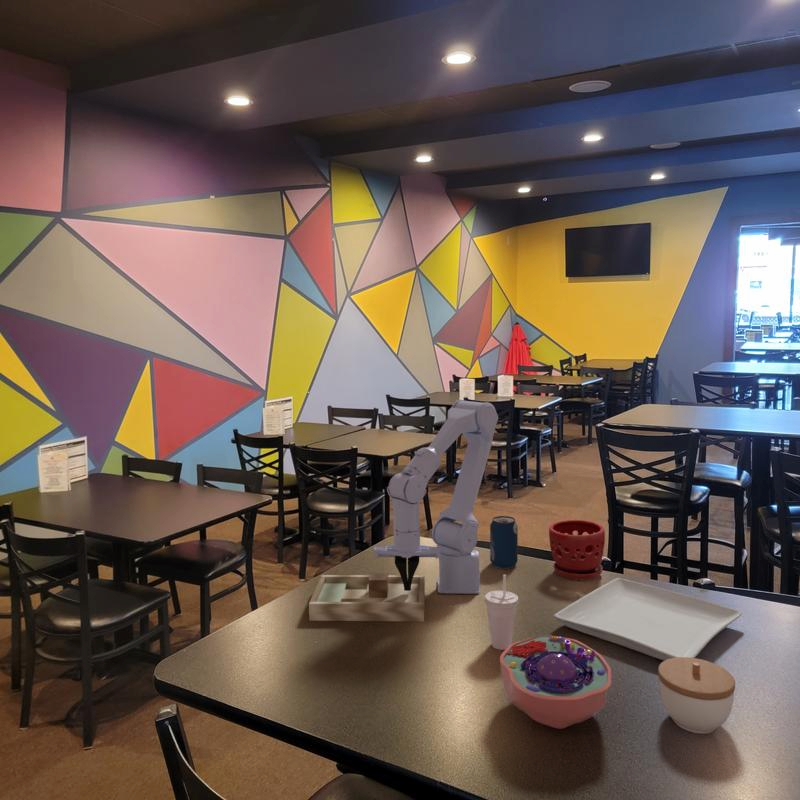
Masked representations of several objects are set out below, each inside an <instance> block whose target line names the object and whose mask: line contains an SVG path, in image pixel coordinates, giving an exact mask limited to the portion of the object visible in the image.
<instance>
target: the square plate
mask: <svg viewBox="0 0 800 800" xmlns="http://www.w3.org/2000/svg"><path fill="white" fill-rule="evenodd" d="M742 615H743V613H742V611H740V610H738V609H734V608H731V607H729V606H728V607H727V606H724V605H721V604H717V603H714V602H712V601H708V600H705V599H703V598H702V599H701V598H697V597H695V596H692V595H691V596H690V595H686V594H684V593H680V592H678V591H677V592H676V591H674V590H669V589H665V588H661V587H658V586H654V585H649V584H646V583H641V582H637V581H632V580H630V579H625V578H620V577H616V578H613V579H611V580H610V581H608V582H607V583H604V584H603V585H601V586H599V587H597V588H595V589H594V590H593V591H591V592H589V593H587V594H585V595H584V596H582V597H581V598H579V599H577V600H575V601H574V602H572V603H570V604H568V605H567V606H565V607H564V608H562V609H561V610H559V611H558V612H556V613H554V614H553V618H555V619H556V620H557V622H559V623H561V625H563V626H566V627H567V628H570V629H572V630H574V631H577V632H581V633H583V634H586V635H589V636H593V637H595V638H598V639H601V640H604V641H607V642H610V643H613V644H617V645H620V646H622V647H624V648H627V649H631V650H634V651H635V652H639V653H642V654H644V655H648V656H650V657H652V658H655V659H658V660H661V661H662V662H663V661H665V660H667V659H671V658H676V657H689V658H696V657H697V656H698V655H699V654H700V653H701V651H702V650H703V649H704V648H705V647H706V646H707V644H708V643H709V642H710V641H711V640H712V639H713V638H714V637H715V636H717V635H718V634H719V633H720V632H721V631H723V630H724V629H726V628H727V627H729V625H731V624H732V623H733V622H734V621H736V620H737V619H738V618H740V617H741V616H742Z"/></svg>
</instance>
